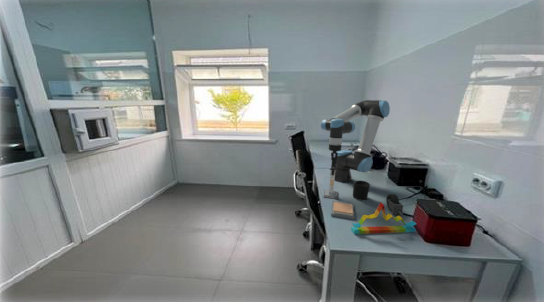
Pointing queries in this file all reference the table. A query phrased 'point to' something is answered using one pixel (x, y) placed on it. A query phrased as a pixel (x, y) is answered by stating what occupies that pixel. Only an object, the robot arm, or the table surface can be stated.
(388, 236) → the table surface
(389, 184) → the table surface
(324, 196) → the mat
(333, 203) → the slate board
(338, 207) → the tile
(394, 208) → the caster wheel
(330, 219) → the table surface
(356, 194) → the pen holder
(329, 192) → the wooden post on base
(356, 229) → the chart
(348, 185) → the table surface
